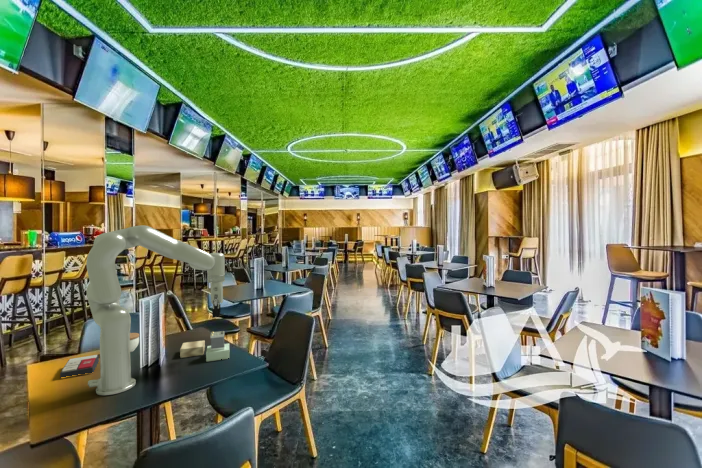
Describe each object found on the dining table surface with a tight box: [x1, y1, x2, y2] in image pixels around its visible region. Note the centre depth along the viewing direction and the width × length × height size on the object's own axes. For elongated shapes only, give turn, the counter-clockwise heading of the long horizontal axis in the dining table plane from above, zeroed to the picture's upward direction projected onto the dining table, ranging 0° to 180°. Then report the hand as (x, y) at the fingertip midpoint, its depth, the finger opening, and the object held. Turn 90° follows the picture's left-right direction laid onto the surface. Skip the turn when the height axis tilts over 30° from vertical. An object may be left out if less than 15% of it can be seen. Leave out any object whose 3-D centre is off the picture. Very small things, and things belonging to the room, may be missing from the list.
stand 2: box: [205, 342, 230, 363], centre depth 160 cm, size 10×10×4 cm
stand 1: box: [179, 339, 206, 359], centre depth 166 cm, size 10×10×4 cm
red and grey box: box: [59, 354, 100, 379], centre depth 147 cm, size 11×4×15 cm
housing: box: [209, 330, 226, 351], centre depth 160 cm, size 6×6×8 cm
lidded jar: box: [130, 332, 140, 353], centre depth 170 cm, size 11×11×9 cm
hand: (216, 314), depth 160 cm, fingers open, 9 cm apart
